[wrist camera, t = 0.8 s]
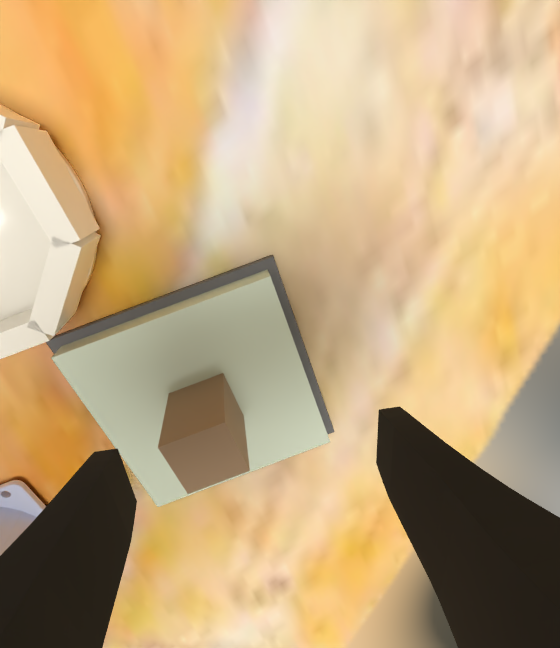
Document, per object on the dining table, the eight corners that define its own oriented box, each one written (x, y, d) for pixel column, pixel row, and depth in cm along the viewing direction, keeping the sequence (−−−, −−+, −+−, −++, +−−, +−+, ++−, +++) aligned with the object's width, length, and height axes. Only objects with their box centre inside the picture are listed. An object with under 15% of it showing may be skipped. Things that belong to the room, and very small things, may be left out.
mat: (157, 493, 24) (156, 498, 23) (48, 338, 19) (45, 341, 18) (332, 427, 24) (334, 431, 23) (272, 254, 19) (273, 256, 18)
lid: (160, 490, 23) (146, 574, 18) (60, 346, 18) (7, 409, 14) (324, 428, 23) (352, 496, 19) (267, 269, 19) (284, 305, 14)
